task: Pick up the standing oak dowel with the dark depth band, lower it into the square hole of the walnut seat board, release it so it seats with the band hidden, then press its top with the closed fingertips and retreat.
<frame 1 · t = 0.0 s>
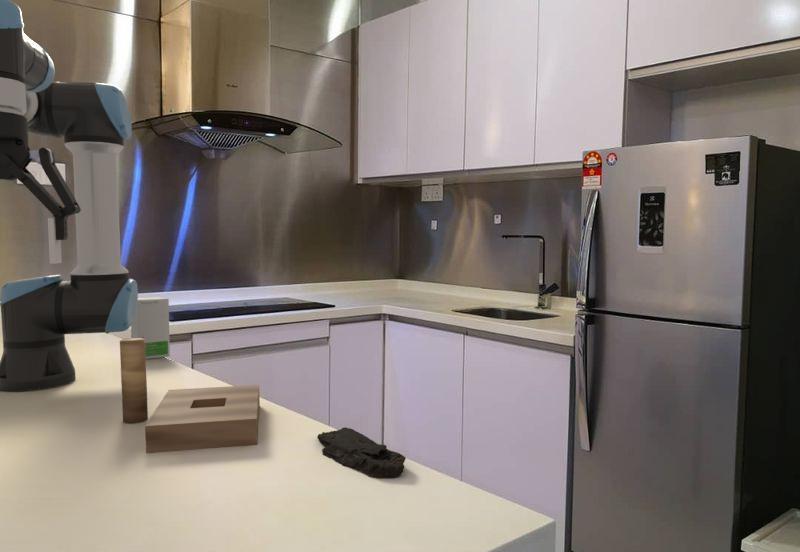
hand: (3, 264, 89), 28 cm above the counter, fingers open, 13 cm apart
skincare box: (151, 357, 166), on the counter
oak dowel: (135, 419, 109), on the counter
seat board: (209, 426, 105), on the counter
black flat rough slab: (356, 459, 91), on the counter
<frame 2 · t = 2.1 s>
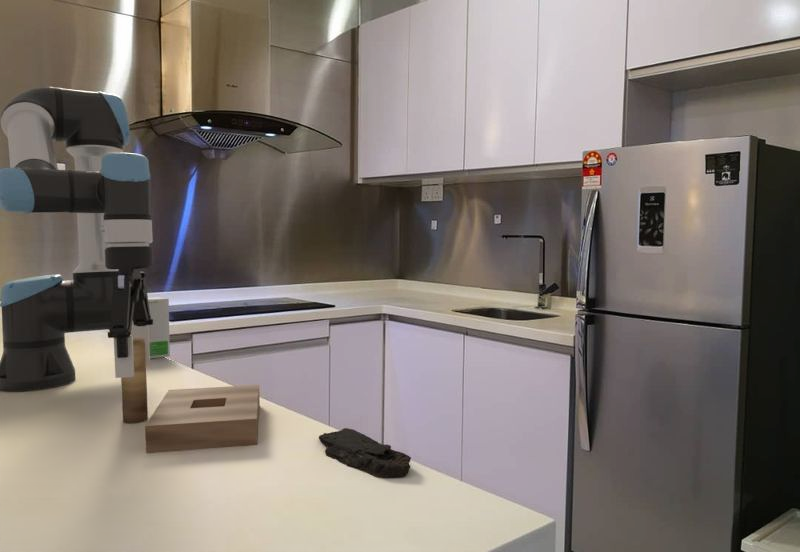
hand: (133, 369, 108), 9 cm above the counter, fingers open, 13 cm apart
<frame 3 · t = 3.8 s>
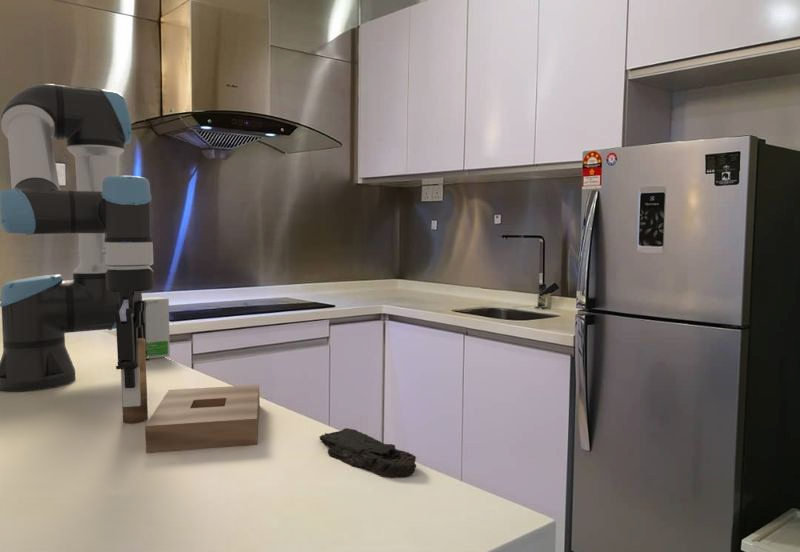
hand: (134, 401, 109), 3 cm above the counter, fingers closed on oak dowel, 4 cm apart
oak dowel: (135, 419, 109), on the counter, touching gripper
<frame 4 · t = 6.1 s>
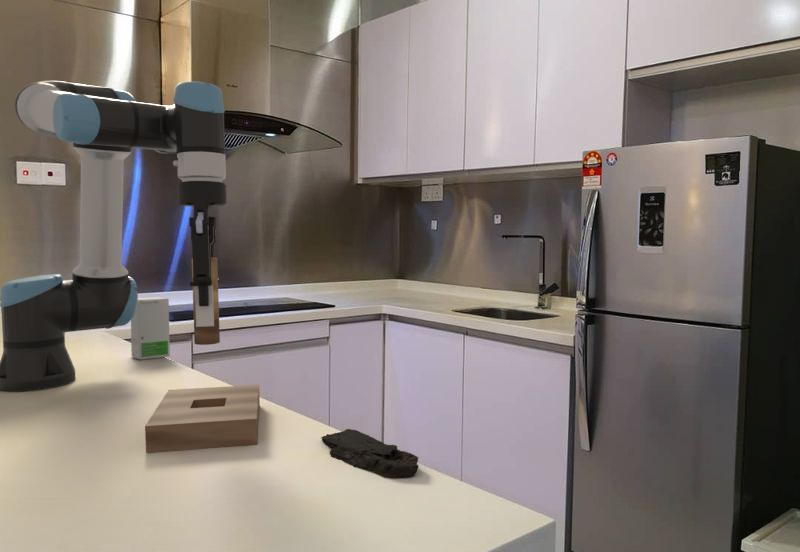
hand: (206, 323, 103), 17 cm above the counter, fingers closed on oak dowel, 4 cm apart
oak dowel: (207, 342, 104), point 14 cm above the counter, touching gripper
when the fingers open (5 cm above the counter, at t = 8.4 s): oak dowel drops 2 cm, resting in seat board.
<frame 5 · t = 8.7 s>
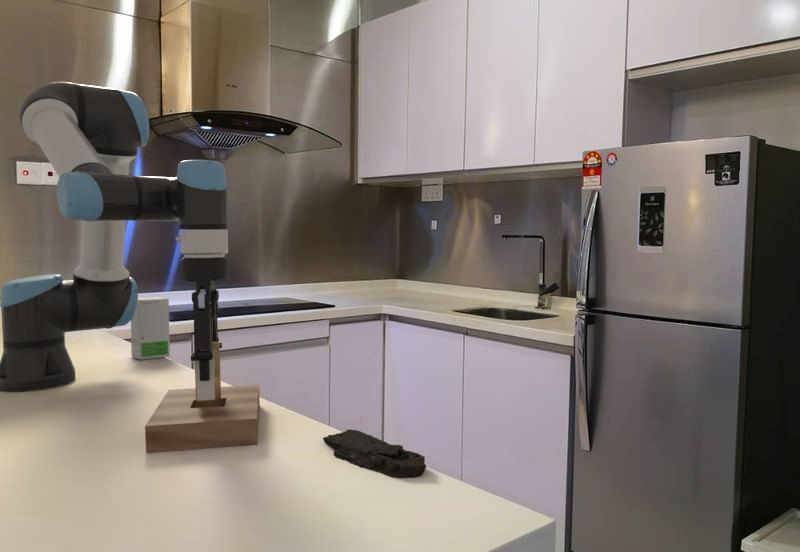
hand: (208, 393, 104), 6 cm above the counter, fingers open, 8 cm apart
oak dowel: (209, 426, 105), resting in seat board
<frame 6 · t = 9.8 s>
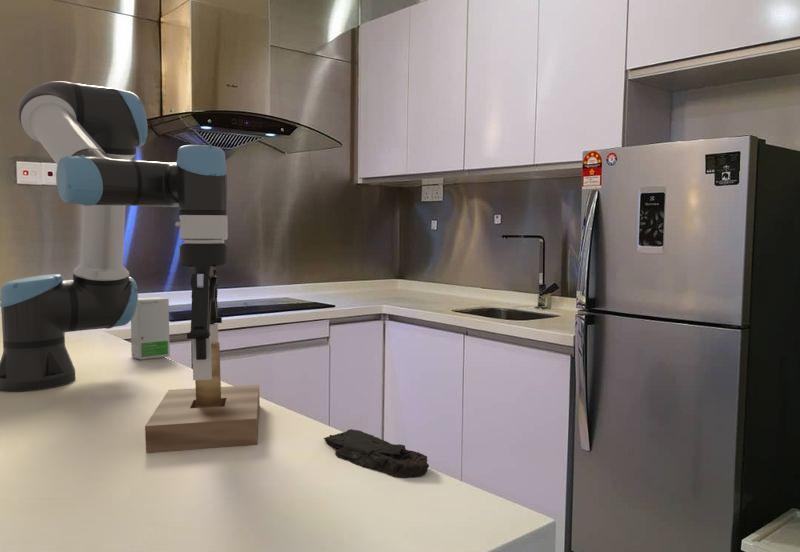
hand: (206, 369, 104), 10 cm above the counter, fingers open, 13 cm apart
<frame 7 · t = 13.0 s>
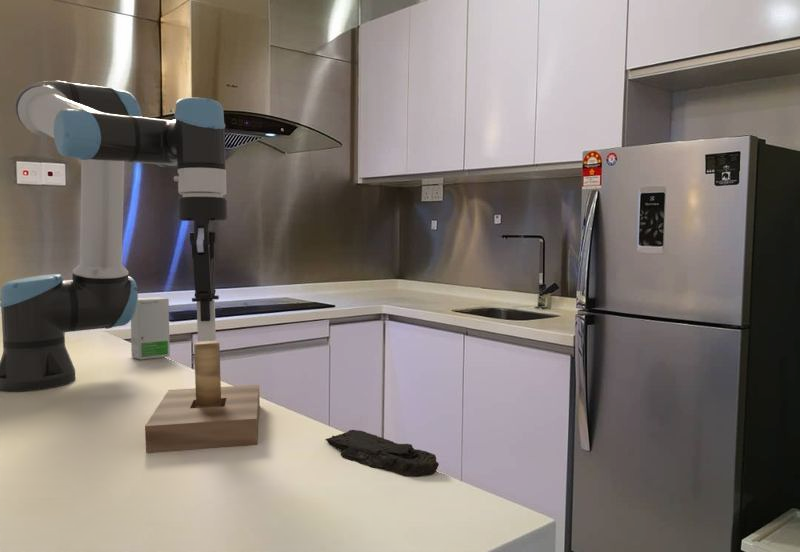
hand: (206, 339, 104), 15 cm above the counter, fingers closed
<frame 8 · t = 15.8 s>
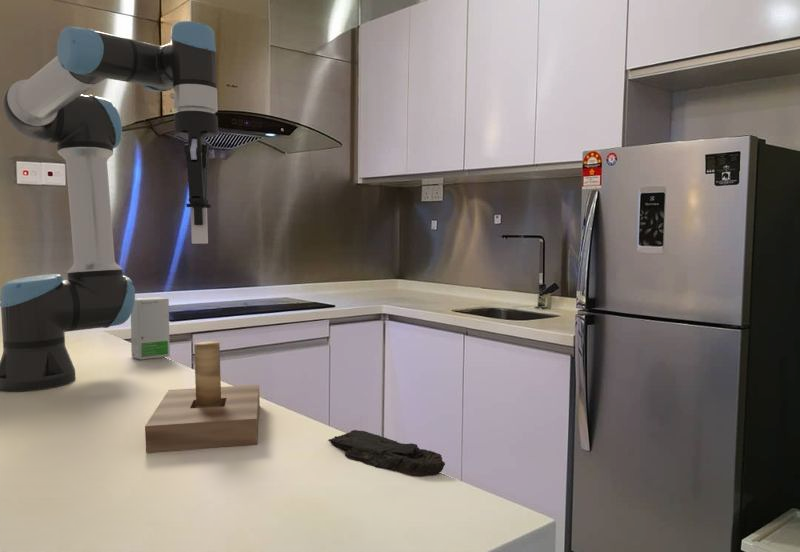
hand: (199, 243, 115), 30 cm above the counter, fingers closed
at the end: oak dowel 0.0 cm off-centre on the seat board, point 0.0 cm above the seat board's base; oak dowel tilted 0°; the gripper is holding nothing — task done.
